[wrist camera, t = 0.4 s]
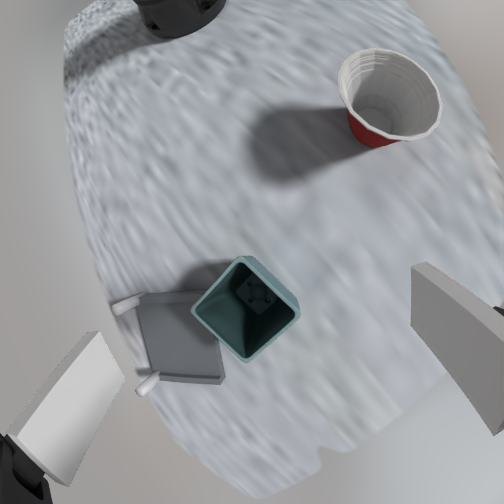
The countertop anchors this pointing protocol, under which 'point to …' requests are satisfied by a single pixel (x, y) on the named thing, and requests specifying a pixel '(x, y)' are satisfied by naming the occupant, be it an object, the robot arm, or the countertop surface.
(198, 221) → the countertop surface
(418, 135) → the plastic cup
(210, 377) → the tray
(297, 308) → the flower pot
